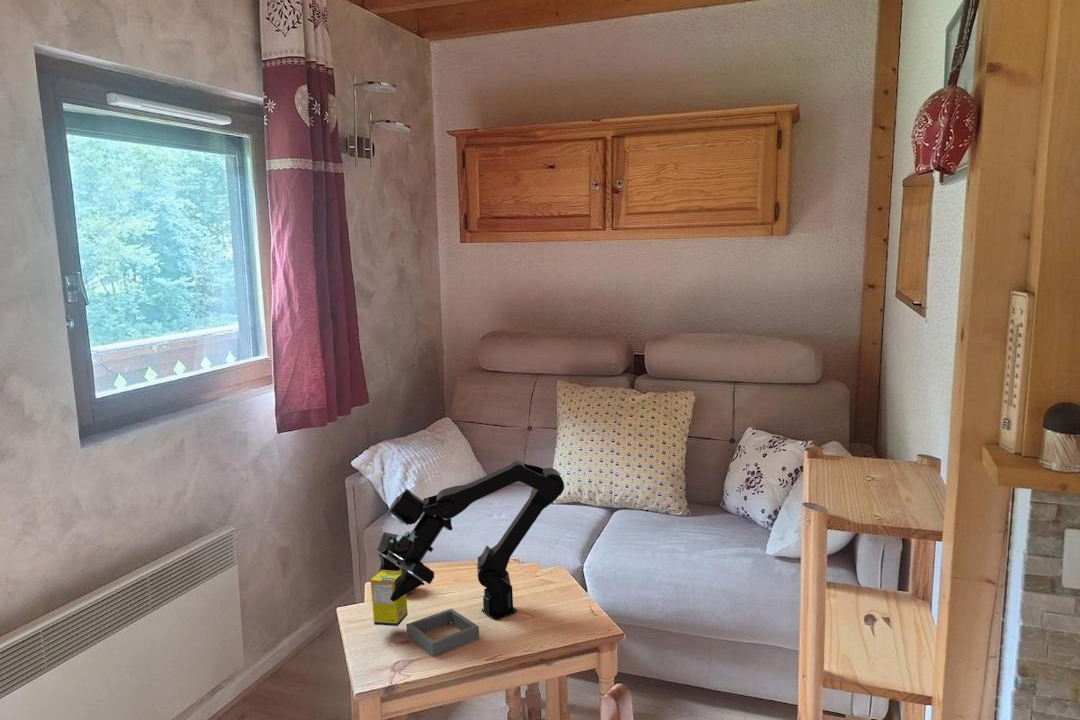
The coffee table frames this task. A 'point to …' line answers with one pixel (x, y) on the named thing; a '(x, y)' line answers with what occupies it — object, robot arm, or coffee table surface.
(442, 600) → the coffee table surface
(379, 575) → the supplement box
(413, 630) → the collar
